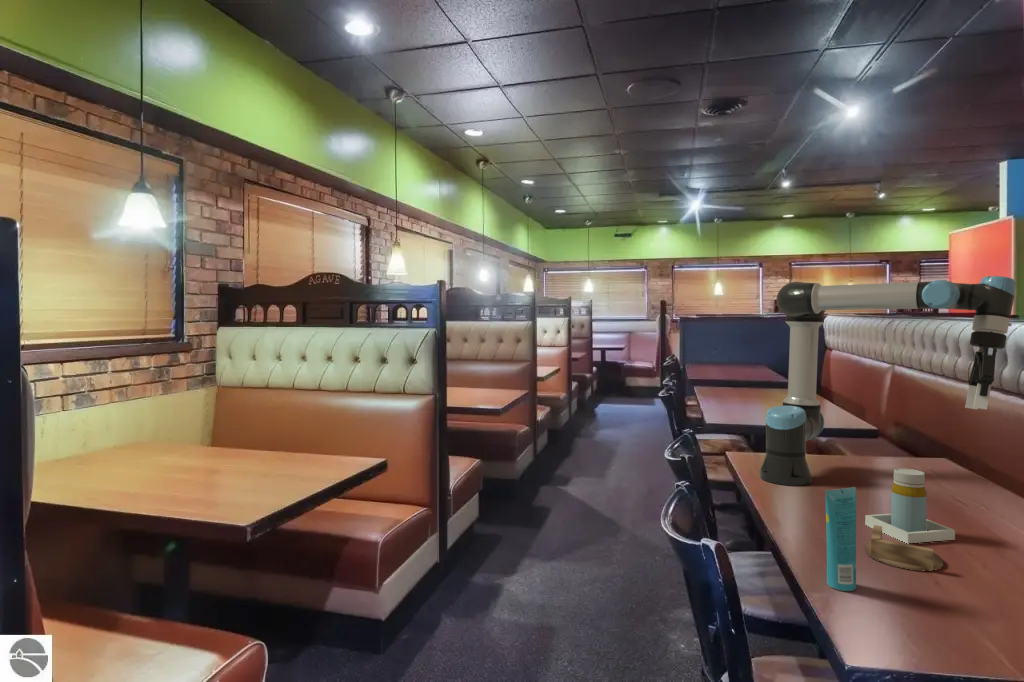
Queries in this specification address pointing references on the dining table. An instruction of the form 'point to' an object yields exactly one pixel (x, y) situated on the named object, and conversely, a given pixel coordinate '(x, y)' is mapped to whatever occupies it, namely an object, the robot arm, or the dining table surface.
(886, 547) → the v block
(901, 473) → the bottle
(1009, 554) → the dining table surface
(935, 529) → the grey frame
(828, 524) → the tube
